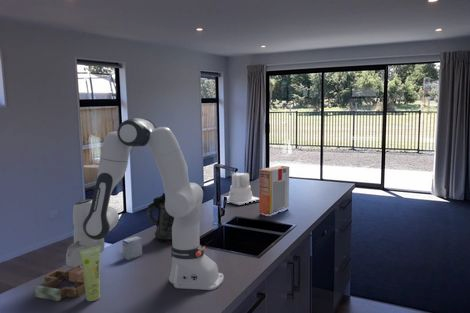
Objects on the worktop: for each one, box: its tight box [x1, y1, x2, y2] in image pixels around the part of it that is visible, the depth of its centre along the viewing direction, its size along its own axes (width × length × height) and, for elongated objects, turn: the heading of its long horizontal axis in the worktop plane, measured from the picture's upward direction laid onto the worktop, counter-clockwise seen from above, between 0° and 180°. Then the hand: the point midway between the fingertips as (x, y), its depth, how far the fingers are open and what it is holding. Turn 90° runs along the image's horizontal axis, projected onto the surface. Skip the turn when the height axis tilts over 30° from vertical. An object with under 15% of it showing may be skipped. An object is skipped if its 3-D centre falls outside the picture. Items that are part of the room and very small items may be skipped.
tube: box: [80, 246, 101, 302], centre depth 142 cm, size 6×5×20 cm
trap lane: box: [34, 264, 86, 302], centre depth 154 cm, size 21×23×4 cm
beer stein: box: [146, 192, 174, 245], centre depth 206 cm, size 16×19×25 cm
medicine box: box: [122, 236, 143, 261], centre depth 183 cm, size 8×4×9 cm, turn 141°
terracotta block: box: [68, 267, 83, 283], centre depth 159 cm, size 5×5×4 cm
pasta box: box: [258, 165, 290, 215], centre depth 259 cm, size 23×8×30 cm, turn 140°
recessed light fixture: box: [225, 172, 260, 206], centre depth 290 cm, size 25×22×21 cm
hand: (86, 269), depth 164 cm, fingers closed
